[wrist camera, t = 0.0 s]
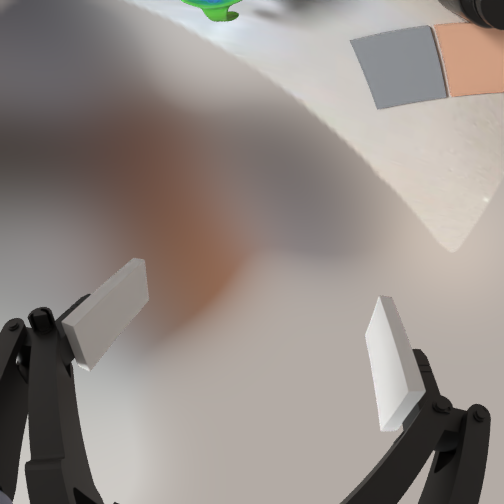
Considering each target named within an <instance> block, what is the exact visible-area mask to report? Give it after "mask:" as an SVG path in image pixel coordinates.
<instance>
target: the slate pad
mask: <svg viewBox="0 0 504 504" xmlns="http://www.w3.org/2000/svg"><path fill="white" fill-rule="evenodd" d="M350 42H351V45H352V47H353V49H354V51H355V54H356V56H357V58H358V60H359V63H360V65H361V68H362V70H363V72H364V75H365V77H366V80H367V83H368V85H369V88H370V91H371V93H372V96H373V99H374V102H375V104H376V107H377V109H382V108H387V107H392V106H397V105H402V104H407V103H413V102H419V101H425V100H432V99H439V98H446V92H445V86H444V81H443V76H442V72H441V67H440V63H439V59H438V55H437V51H436V47H435V43H434V40H433V36H432V33H431V30H430V27H429V26H420V27H413V28H407V29H401V30H395V31H390V32H385V33H380V34H375V35H371V36H366V37H362V38H358V39H354V40H350Z"/></svg>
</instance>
